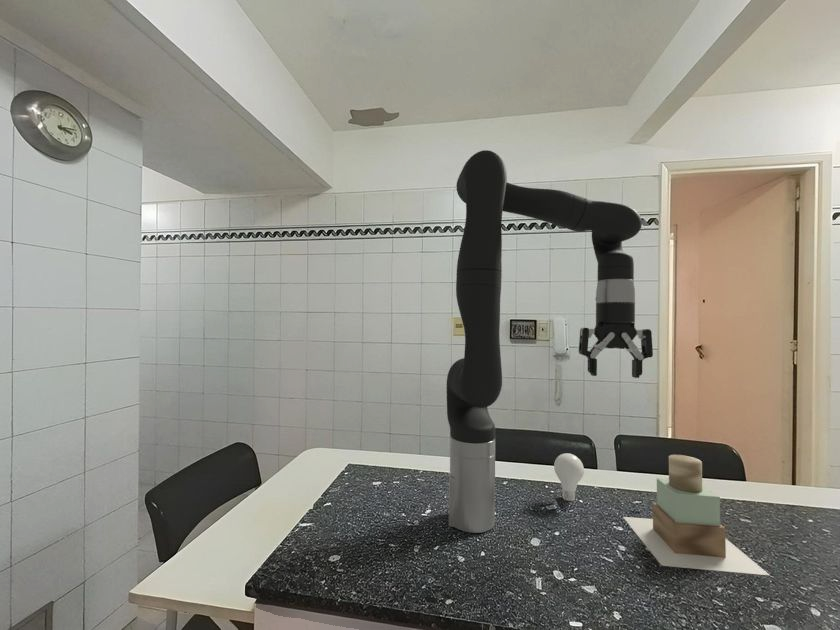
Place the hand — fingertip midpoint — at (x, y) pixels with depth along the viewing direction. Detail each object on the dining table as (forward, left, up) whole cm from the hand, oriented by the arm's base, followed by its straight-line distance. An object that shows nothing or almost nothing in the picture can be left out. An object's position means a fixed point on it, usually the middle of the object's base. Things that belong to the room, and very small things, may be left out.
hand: (614, 376), depth 81 cm
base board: (+9, -10, -30) cm, 33 cm away
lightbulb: (-8, +5, -30) cm, 31 cm away
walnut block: (+9, -10, -29) cm, 32 cm away
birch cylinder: (+9, -10, -19) cm, 23 cm away
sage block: (+9, -10, -24) cm, 27 cm away
